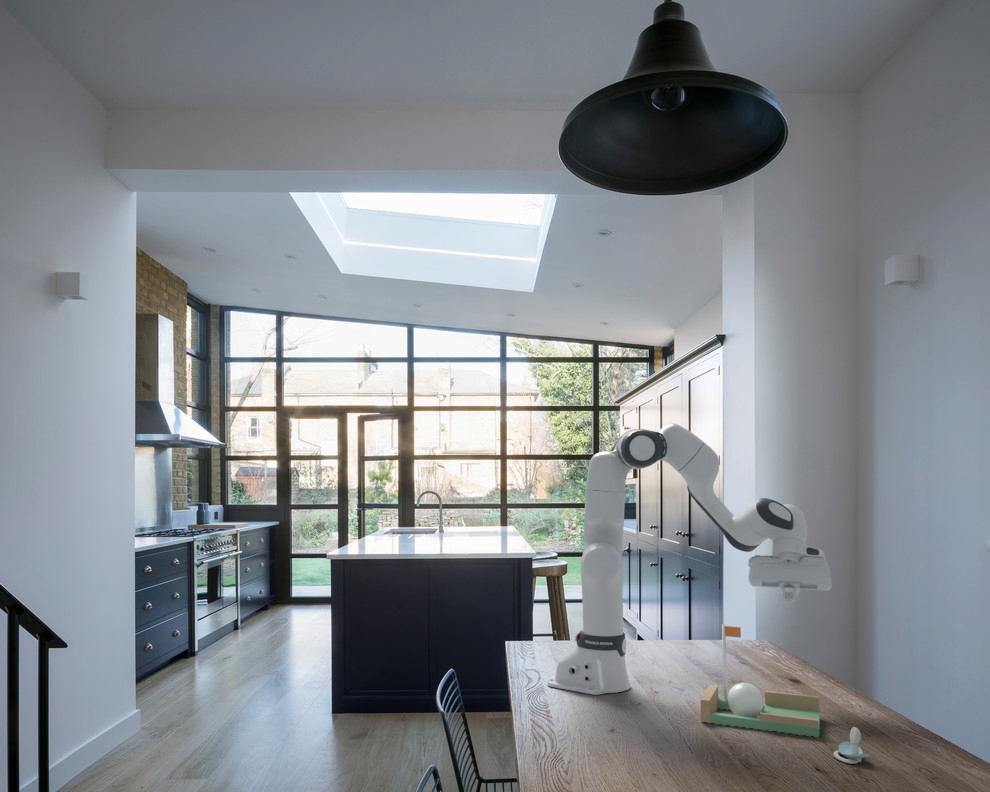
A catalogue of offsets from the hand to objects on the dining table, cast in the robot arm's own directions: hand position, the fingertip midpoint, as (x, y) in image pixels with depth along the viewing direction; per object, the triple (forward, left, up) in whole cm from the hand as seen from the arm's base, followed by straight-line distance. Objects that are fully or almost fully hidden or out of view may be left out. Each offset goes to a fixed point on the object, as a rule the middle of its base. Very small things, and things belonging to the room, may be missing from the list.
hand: (789, 599), depth 188 cm
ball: (-10, -18, -21) cm, 30 cm away
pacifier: (+12, -36, -26) cm, 46 cm away
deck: (-6, -18, -25) cm, 32 cm away
